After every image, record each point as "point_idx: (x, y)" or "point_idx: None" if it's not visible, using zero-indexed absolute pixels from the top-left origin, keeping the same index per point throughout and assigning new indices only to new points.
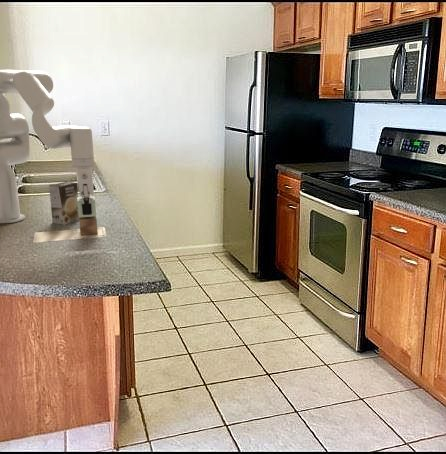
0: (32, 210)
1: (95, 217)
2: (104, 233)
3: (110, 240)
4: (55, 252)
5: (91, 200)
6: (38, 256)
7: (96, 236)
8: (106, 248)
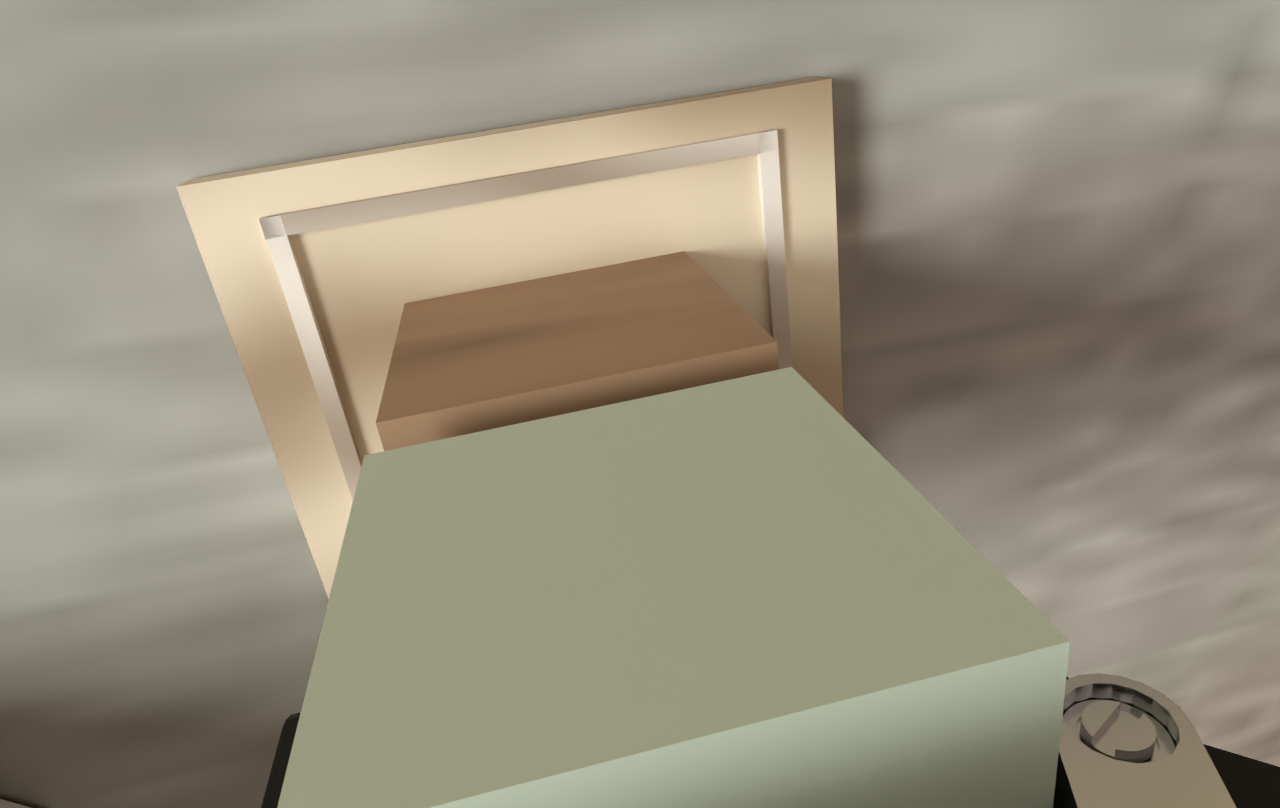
0: None
1: (676, 380)
2: (643, 140)
3: (895, 11)
4: (1138, 605)
5: (1048, 742)
6: (1188, 705)
7: (793, 256)
8: (1248, 48)
